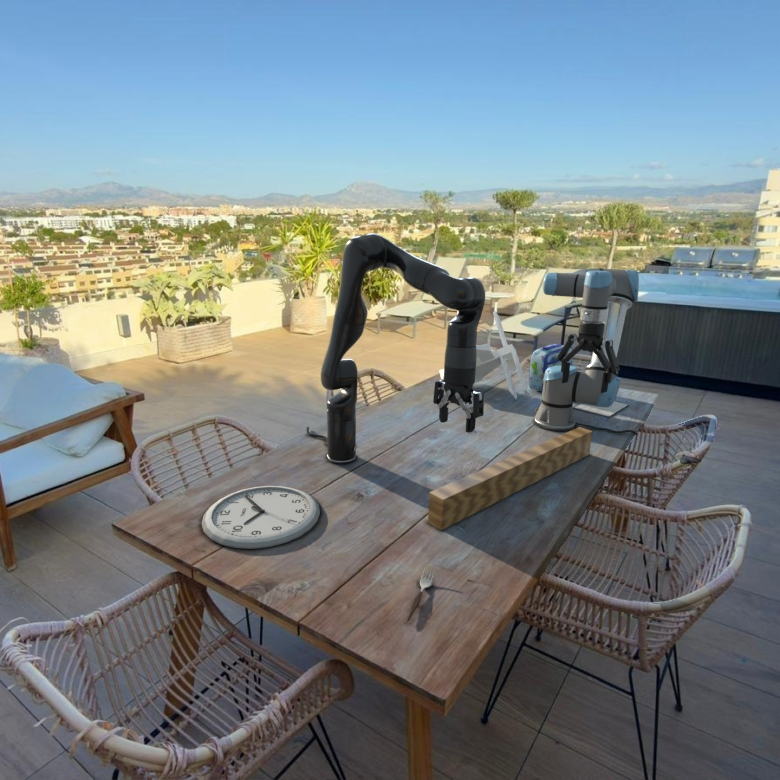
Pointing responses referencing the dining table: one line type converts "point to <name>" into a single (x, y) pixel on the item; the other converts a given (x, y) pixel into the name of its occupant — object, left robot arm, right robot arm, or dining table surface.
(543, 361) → the lunch box
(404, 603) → the dining table surface
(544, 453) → the post
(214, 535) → the wall clock
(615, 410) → the invitation card
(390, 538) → the dining table surface
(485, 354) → the white plastic object
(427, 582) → the fork
